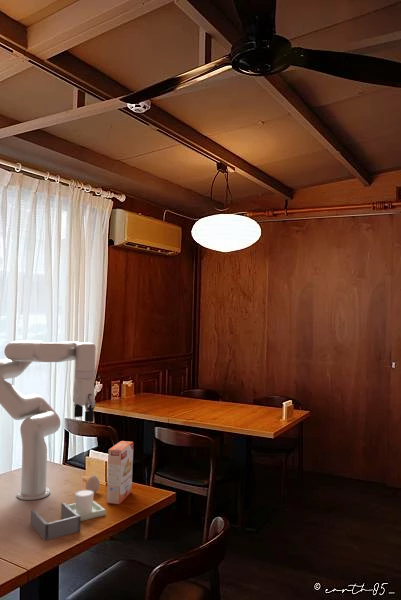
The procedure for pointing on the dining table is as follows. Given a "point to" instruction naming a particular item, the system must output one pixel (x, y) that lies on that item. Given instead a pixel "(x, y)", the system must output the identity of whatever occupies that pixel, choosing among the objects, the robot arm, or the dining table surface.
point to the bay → (56, 523)
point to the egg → (93, 484)
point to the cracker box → (119, 472)
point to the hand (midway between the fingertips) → (83, 419)
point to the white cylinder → (84, 501)
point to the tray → (96, 512)
